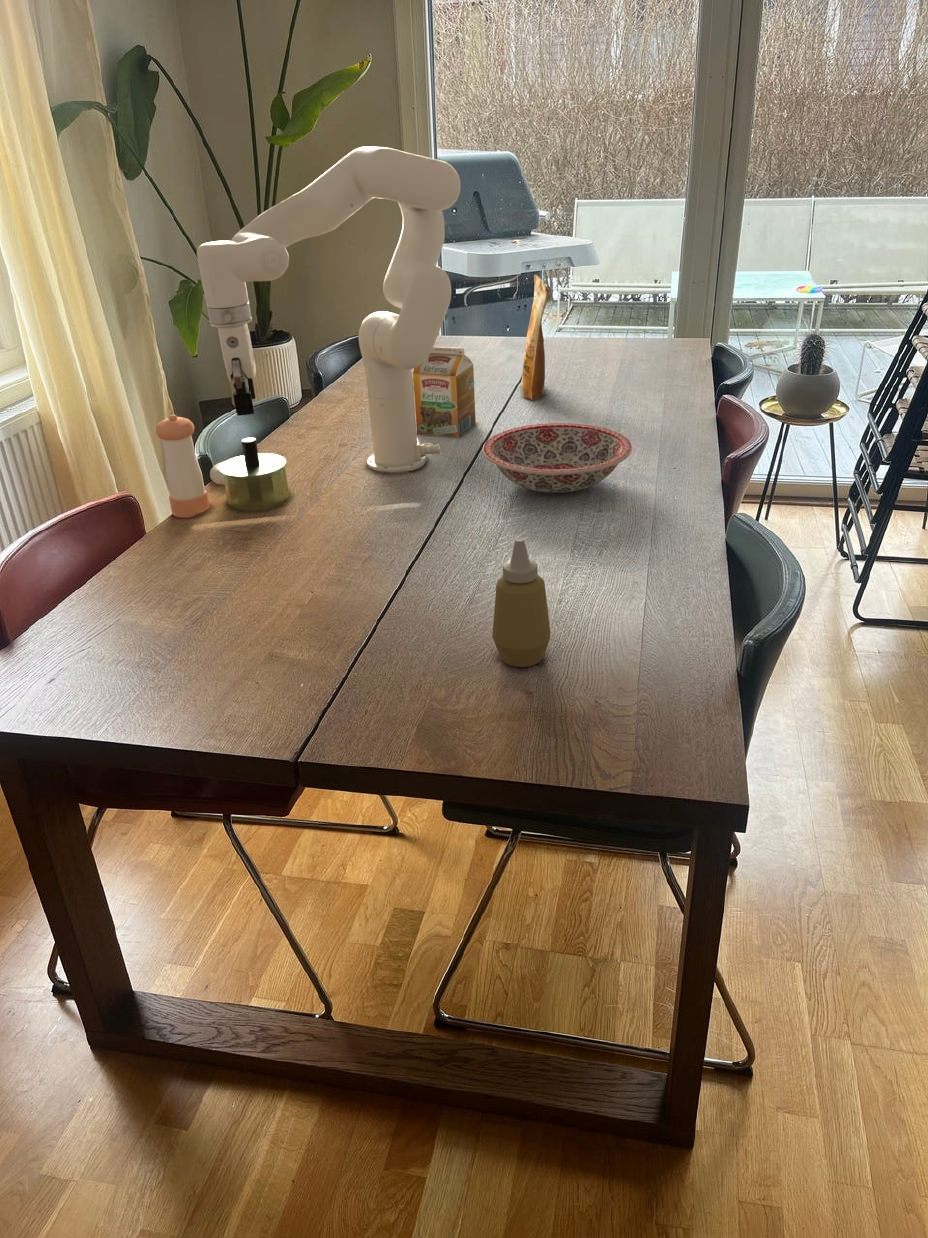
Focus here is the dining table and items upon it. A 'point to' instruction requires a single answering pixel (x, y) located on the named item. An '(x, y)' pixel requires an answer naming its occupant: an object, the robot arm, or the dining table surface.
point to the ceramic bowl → (557, 455)
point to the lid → (252, 463)
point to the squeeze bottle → (521, 611)
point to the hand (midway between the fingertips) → (246, 406)
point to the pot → (257, 491)
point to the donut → (216, 474)
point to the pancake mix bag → (535, 345)
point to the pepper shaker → (182, 467)
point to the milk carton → (444, 393)
